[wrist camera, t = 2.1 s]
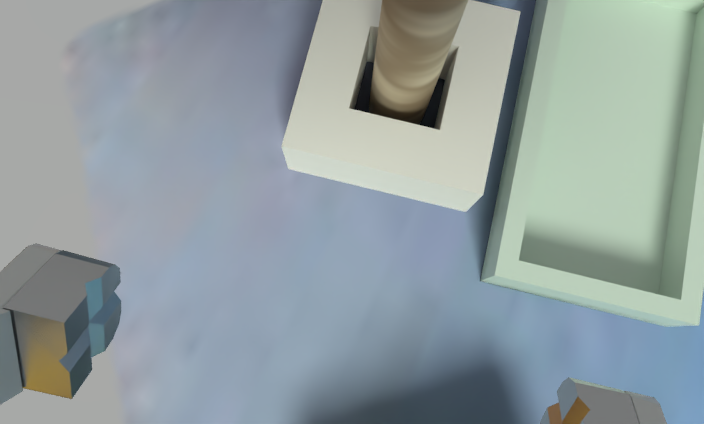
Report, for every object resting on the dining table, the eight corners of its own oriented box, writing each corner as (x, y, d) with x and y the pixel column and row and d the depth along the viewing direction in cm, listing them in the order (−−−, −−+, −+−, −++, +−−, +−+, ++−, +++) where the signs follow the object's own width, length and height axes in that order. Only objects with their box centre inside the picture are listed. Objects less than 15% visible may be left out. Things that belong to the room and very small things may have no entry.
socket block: (500, 48, 35) (520, 11, 31) (465, 212, 33) (483, 194, 29) (332, 9, 35) (332, -33, 31) (288, 169, 33) (281, 146, 29)
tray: (707, 9, 35) (740, -20, 32) (665, 326, 32) (698, 325, 29) (541, -29, 36) (559, -62, 33) (480, 281, 32) (494, 275, 29)
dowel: (430, 88, 34) (484, -61, 21) (418, 139, 33) (467, 18, 21) (375, 75, 34) (398, -81, 21) (362, 126, 34) (377, -3, 21)
